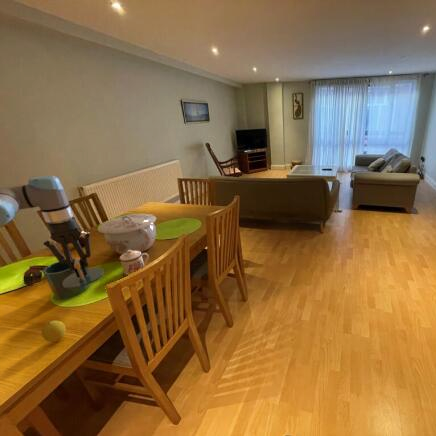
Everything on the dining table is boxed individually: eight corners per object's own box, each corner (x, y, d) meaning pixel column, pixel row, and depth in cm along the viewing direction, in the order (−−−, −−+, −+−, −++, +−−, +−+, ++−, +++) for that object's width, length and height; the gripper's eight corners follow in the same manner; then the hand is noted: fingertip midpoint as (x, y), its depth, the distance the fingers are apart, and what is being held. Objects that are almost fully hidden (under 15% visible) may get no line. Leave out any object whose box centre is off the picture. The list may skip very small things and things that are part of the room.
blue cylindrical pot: (52, 303, 98) (39, 277, 93) (57, 287, 106) (46, 263, 102) (88, 292, 103) (78, 268, 99) (90, 279, 112) (81, 255, 108)
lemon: (63, 331, 84) (55, 313, 81) (73, 336, 82) (64, 318, 79) (43, 343, 80) (33, 325, 77) (53, 349, 78) (43, 331, 75)
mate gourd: (92, 242, 146) (84, 220, 140) (80, 249, 139) (71, 225, 133) (81, 242, 147) (72, 219, 141) (69, 248, 139) (59, 225, 134)
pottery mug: (21, 282, 111) (26, 264, 112) (49, 282, 118) (54, 265, 119) (21, 287, 103) (26, 268, 104) (51, 286, 110) (56, 268, 111)
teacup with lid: (129, 278, 112) (122, 257, 108) (120, 272, 117) (114, 251, 113) (155, 267, 121) (149, 246, 117) (146, 261, 126) (140, 242, 122)
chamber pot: (116, 241, 147) (106, 210, 139) (165, 235, 155) (158, 205, 147) (98, 266, 122) (84, 229, 114) (157, 257, 130) (148, 222, 122)
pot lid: (60, 294, 87) (51, 274, 84) (66, 276, 97) (58, 258, 94) (103, 281, 93) (96, 263, 90) (105, 266, 103) (99, 249, 100)
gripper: (87, 212, 92) (106, 264, 101) (35, 220, 84) (60, 276, 93) (85, 218, 86) (105, 273, 95) (28, 228, 79) (56, 286, 88)
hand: (82, 274), depth 94 cm, fingers closed on pot lid, 1 cm apart
